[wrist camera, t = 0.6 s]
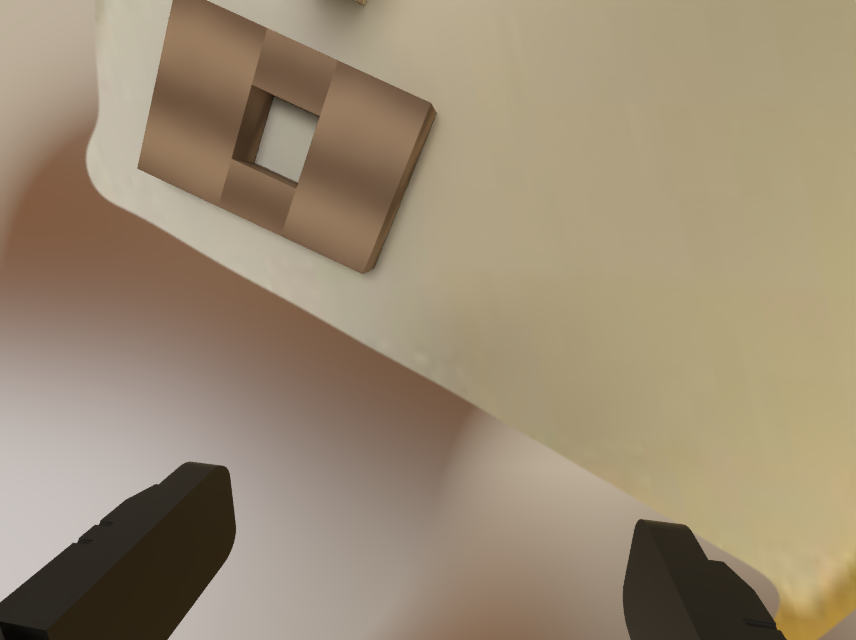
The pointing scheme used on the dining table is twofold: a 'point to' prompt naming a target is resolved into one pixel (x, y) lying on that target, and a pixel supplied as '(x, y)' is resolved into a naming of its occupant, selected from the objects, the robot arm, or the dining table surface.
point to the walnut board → (245, 120)
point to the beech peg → (361, 1)
